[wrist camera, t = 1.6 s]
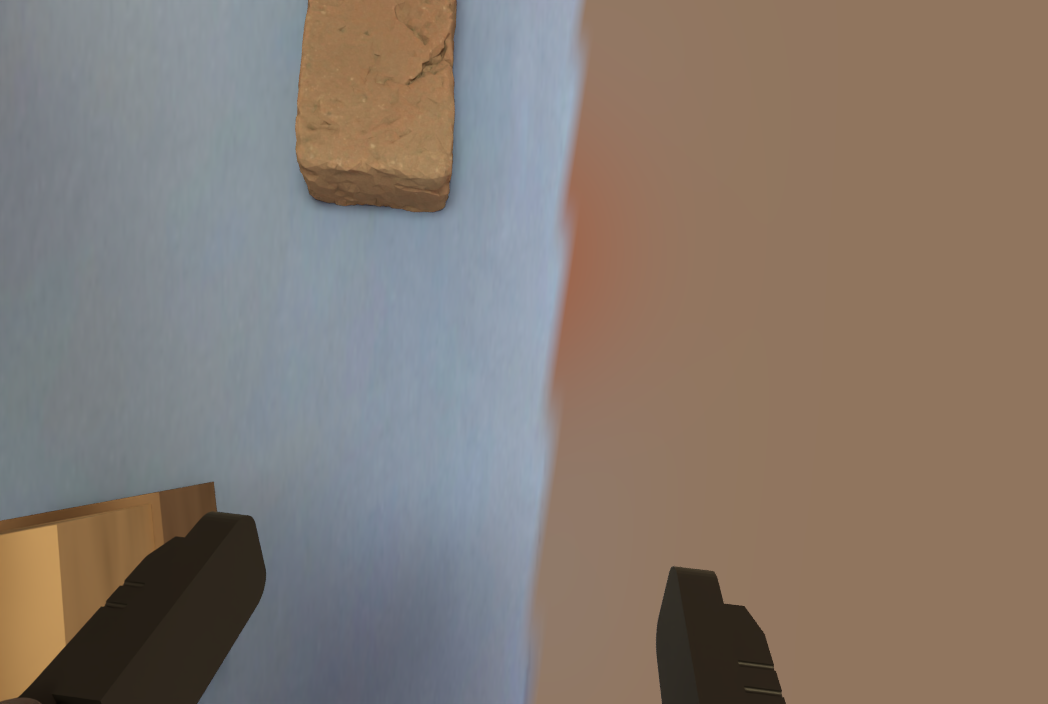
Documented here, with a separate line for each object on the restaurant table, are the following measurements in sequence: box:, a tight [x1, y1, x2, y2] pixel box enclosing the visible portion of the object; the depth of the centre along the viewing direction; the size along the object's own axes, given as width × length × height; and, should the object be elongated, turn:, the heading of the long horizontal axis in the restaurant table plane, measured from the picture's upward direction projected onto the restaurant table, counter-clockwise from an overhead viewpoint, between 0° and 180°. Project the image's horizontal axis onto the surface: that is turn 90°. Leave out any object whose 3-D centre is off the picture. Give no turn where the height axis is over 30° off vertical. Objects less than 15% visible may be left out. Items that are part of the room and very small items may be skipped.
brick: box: [295, 0, 457, 212], centre depth 33 cm, size 17×8×5 cm, turn 0°
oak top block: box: [0, 504, 155, 702], centre depth 20 cm, size 7×7×6 cm
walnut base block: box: [0, 482, 217, 550], centre depth 26 cm, size 8×8×6 cm
